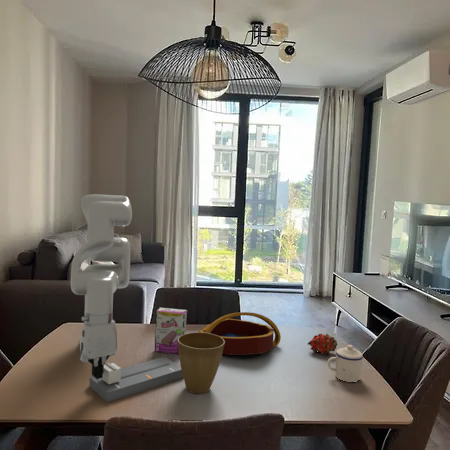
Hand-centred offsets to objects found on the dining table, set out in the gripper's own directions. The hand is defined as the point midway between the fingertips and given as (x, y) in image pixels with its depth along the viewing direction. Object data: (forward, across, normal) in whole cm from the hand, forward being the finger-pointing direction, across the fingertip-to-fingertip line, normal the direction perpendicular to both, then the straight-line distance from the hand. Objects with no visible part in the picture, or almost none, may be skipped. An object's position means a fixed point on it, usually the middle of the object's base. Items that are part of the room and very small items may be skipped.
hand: (97, 376), depth 129 cm
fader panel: (+6, +14, 0) cm, 15 cm away
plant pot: (+6, +28, -15) cm, 32 cm away
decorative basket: (+6, +63, +2) cm, 63 cm away
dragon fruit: (+6, +86, -20) cm, 89 cm away
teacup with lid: (+6, +74, -39) cm, 83 cm away
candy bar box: (+6, +37, +15) cm, 41 cm away
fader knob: (+2, +4, 0) cm, 5 cm away
